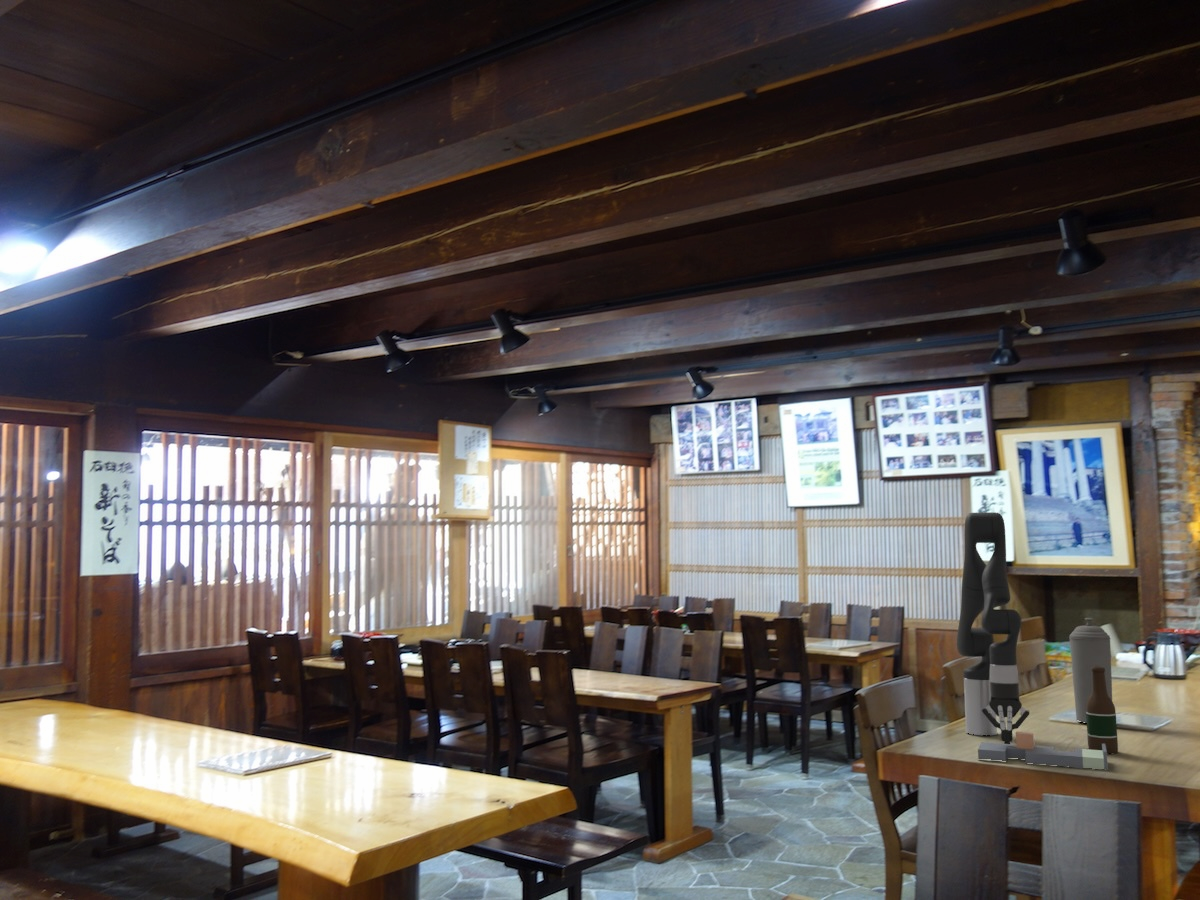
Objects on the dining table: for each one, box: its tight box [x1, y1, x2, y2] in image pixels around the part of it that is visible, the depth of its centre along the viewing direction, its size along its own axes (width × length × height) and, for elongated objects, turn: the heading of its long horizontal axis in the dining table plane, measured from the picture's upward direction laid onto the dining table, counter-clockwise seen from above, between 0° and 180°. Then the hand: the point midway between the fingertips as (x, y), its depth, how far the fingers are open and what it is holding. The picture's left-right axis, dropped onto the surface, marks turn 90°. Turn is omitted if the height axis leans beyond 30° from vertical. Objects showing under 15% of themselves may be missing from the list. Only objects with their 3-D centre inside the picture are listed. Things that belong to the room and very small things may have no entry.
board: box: [977, 741, 1109, 771], centre depth 269 cm, size 12×32×5 cm, turn 65°
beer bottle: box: [1086, 666, 1119, 754], centre depth 283 cm, size 8×8×24 cm
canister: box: [1068, 617, 1113, 723], centre depth 331 cm, size 13×13×35 cm
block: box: [1015, 730, 1036, 749], centre depth 273 cm, size 4×4×4 cm
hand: (1007, 743), depth 275 cm, fingers closed
